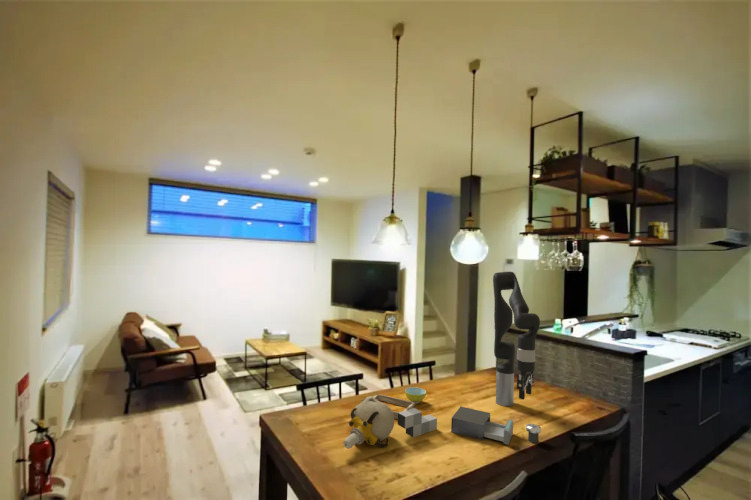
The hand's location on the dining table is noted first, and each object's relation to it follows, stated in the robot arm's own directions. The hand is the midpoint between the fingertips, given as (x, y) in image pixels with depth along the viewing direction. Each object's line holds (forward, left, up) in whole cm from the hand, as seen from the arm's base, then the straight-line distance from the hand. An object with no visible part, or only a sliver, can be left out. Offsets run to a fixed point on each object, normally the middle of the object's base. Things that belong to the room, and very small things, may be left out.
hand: (525, 396), depth 160 cm
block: (+18, -42, -19) cm, 50 cm away
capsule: (-1, +3, -19) cm, 19 cm away
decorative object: (+40, -60, -19) cm, 74 cm away
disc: (-1, +3, -14) cm, 15 cm away
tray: (+3, -13, -19) cm, 23 cm away
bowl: (-13, -57, -19) cm, 61 cm away
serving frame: (+3, -65, -19) cm, 67 cm away
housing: (+3, -23, -19) cm, 29 cm away
